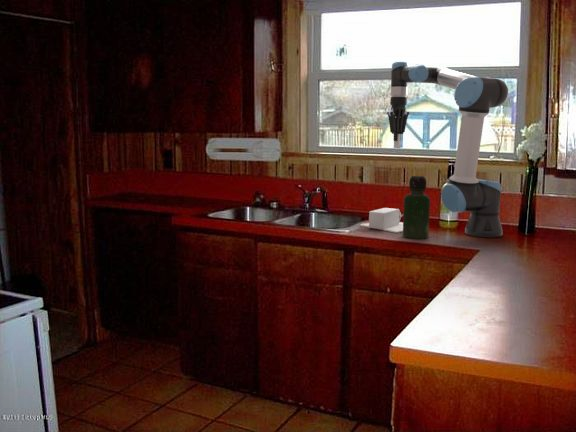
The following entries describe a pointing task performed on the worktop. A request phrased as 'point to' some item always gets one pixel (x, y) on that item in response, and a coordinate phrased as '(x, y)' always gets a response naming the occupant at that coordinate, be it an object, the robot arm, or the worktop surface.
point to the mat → (391, 229)
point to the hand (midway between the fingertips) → (396, 148)
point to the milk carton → (384, 218)
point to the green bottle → (416, 210)
